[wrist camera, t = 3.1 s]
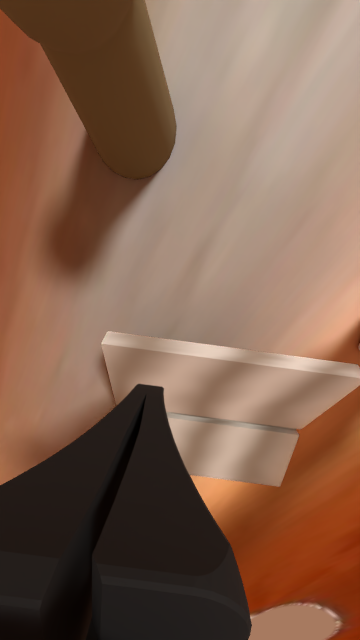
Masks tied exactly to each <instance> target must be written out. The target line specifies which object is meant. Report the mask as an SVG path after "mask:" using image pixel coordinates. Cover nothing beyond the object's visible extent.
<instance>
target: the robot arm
mask: <svg viewBox="0 0 360 640" xmlns="http://www.w3.org/2000/svg"><path fill="white" fill-rule="evenodd" d="M358 348H359V350H360V344H359V347H358ZM251 626H252V624H251V619H250V613H249V607H248V603H247V599H246V595H245V591H244V587H243V583H242V579H241V576H240V572H239V569H238V566H237V563H236V560H235V556H234V553H233V550H232V548H231V545H230V543H229V542H228V540H227V539H226V537H225V536H224V534H223V532H222V531H221V529H220V528H219V526H218V525H217V523H216V521H215V520H214V518H213V517H212V515H211V513H210V512H209V510H208V508H207V507H206V505H205V503H204V501H203V500H202V498H201V496H200V494H199V493H198V491H197V489H196V487H195V485H194V483H193V481H192V479H191V477H190V475H189V473H188V471H187V469H186V467H185V465H184V462H183V460H182V458H181V456H180V453H179V451H178V448H177V446H176V443H175V440H174V438H173V435H172V431H171V428H170V425H169V421H168V417H167V413H166V409H165V403H164V388H163V387H161V386H153V385H146V384H137V385H136V386H135V387H134V388H133V389H132V390H131V392H130V393H129V394H128V395H127V396H126V397H125V398H124V399H123V400H122V401H121V402H120V403H119V404H118V405H117V406H116V407H115V408H114V409H113V410H112V411H111V412H110V413H108V414H107V415H106V416H105V417H104V418H103V419H102V420H100V421H99V422H98V423H97V424H96V425H94V426H93V427H92V428H91V429H90V430H88V431H87V432H86V433H84V434H83V435H82V436H80V437H79V438H78V439H76V440H75V441H73V442H72V443H71V444H69V445H68V446H66V447H65V448H63V449H62V450H60V451H59V452H57V453H56V454H54V455H53V456H51V457H50V458H48V459H46V460H45V461H43V462H41V463H40V464H38V465H36V466H34V467H33V468H31V469H29V470H28V471H26V472H24V473H22V474H21V475H19V476H17V477H15V478H13V479H12V480H10V481H8V482H6V483H4V484H2V485H0V640H248V638H249V636H250V632H251Z"/></svg>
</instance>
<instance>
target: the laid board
mask: <svg viewBox="0 0 360 640" xmlns="http://www.w3.org/2000/svg"><path fill="white" fill-rule="evenodd" d="M166 413H167V417H168V421H169V425H170V428H171V431H172V435H173V438H174V440H175V443H176V446H177V448H178V451H179V453H180V456H181V458H182V460H183V462H184V465H185V467H186V469H187V471H188V473H189V475H194V476H202V477H209V478H217V479H225V480H232V481H240V482H247V483H255V484H262V485H270V486H278V487H280V485H281V483H282V480H283V477H284V475H285V472H286V469H287V467H288V464H289V461H290V459H291V456H292V453H293V451H294V448H295V445H296V443H297V440H298V437H299V434H298V432H297V431H296V429H295V428H287V427H280V426H272V425H265V424H257V423H250V422H242V421H235V420H227V419H219V418H212V417H204V416H197V415H189V414H182V413H174V412H167V411H166Z"/></svg>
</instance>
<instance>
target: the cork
mask: <svg viewBox="0 0 360 640" xmlns="http://www.w3.org/2000/svg"><path fill="white" fill-rule="evenodd" d="M0 9H1V10H2V11H3V12H4V13H5V14H6V15H7V16H8V17H9V18H10V19H11V20H12V21H13V22H14V23H15V24H16V25H17V26H18V27H19V28H20V29H21V30H22V31H23V32H24V33H25V34H26V35H27V36H28V37H30V38H31V39H33V40H35V41H37V42H38V43H40V44H41V46H42V48H43V50H44V52H45V53H46V55H47V57H48V59H49V61H50V63H51V65H52V67H53V68H54V70H55V72H56V74H57V76H58V78H59V80H60V82H61V83H62V85H63V87H64V89H65V91H66V93H67V95H68V97H69V99H70V100H71V102H72V104H73V106H74V108H75V110H76V112H77V114H78V115H79V117H80V119H81V121H82V123H83V125H84V127H85V129H86V130H87V132H88V134H89V136H90V138H91V140H92V142H93V144H94V145H95V147H96V149H97V151H98V153H99V155H100V156H101V158H102V160H103V162H104V163H105V164H106V165H107V166H108V167H109V168H110V169H111V170H112V171H113V172H115V173H117V174H119V175H121V176H123V177H125V178H132V179H141V178H145V177H149V176H151V175H153V174H154V173H155V172H157V171H158V170H160V169H161V168H162V167H163V165H164V164H165V163H166V161H167V160H168V159H169V157H170V155H171V152H172V150H173V147H174V144H175V137H176V121H175V115H174V109H173V105H172V102H171V98H170V94H169V90H168V86H167V83H166V79H165V75H164V71H163V68H162V64H161V60H160V56H159V52H158V49H157V45H156V41H155V37H154V34H153V30H152V26H151V22H150V18H149V15H148V11H147V7H146V3H145V0H0Z"/></svg>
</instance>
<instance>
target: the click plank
mask: <svg viewBox="0 0 360 640" xmlns="http://www.w3.org/2000/svg"><path fill="white" fill-rule="evenodd" d="M101 346H102V350H103V354H104V358H105V362H106V366H107V370H108V374H109V378H110V382H111V386H112V391H113V395H114V399H115V403H116V405H118V404H119V403H120V402H121V401H122V400H123V399H124V398H125V397H126V396H127V395H128V394H129V393H130V392H131V390H132V389H133V388H134V387H135V386H136V385H137V384H146V385H153V386H161V387H163V388H164V403H165V409H166V411H167V412H174V413H182V414H189V415H197V416H204V417H212V418H219V419H227V420H235V421H242V422H250V423H257V424H265V425H272V426H280V427H287V428H295V429H302V428H304V427H305V426H306V425H308V424H309V423H310V422H312V421H313V420H314V419H316V418H317V417H318V416H320V415H321V414H322V413H324V412H325V411H326V410H328V409H329V408H330V407H332V406H333V405H334V404H336V403H337V402H338V401H340V400H341V399H342V398H344V397H345V396H346V395H348V394H349V393H350V392H352V391H353V390H354V389H356V388H357V387H358V386H360V367H359V366H358V365H357V364H351V363H343V362H336V361H328V360H321V359H313V358H306V357H298V356H290V355H283V354H275V353H268V352H260V351H253V350H245V349H238V348H230V347H223V346H215V345H208V344H200V343H193V342H185V341H178V340H170V339H163V338H155V337H148V336H140V335H133V334H125V333H118V332H110V331H107V333H106V335H105V337H104V339H103V341H102V343H101Z"/></svg>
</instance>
